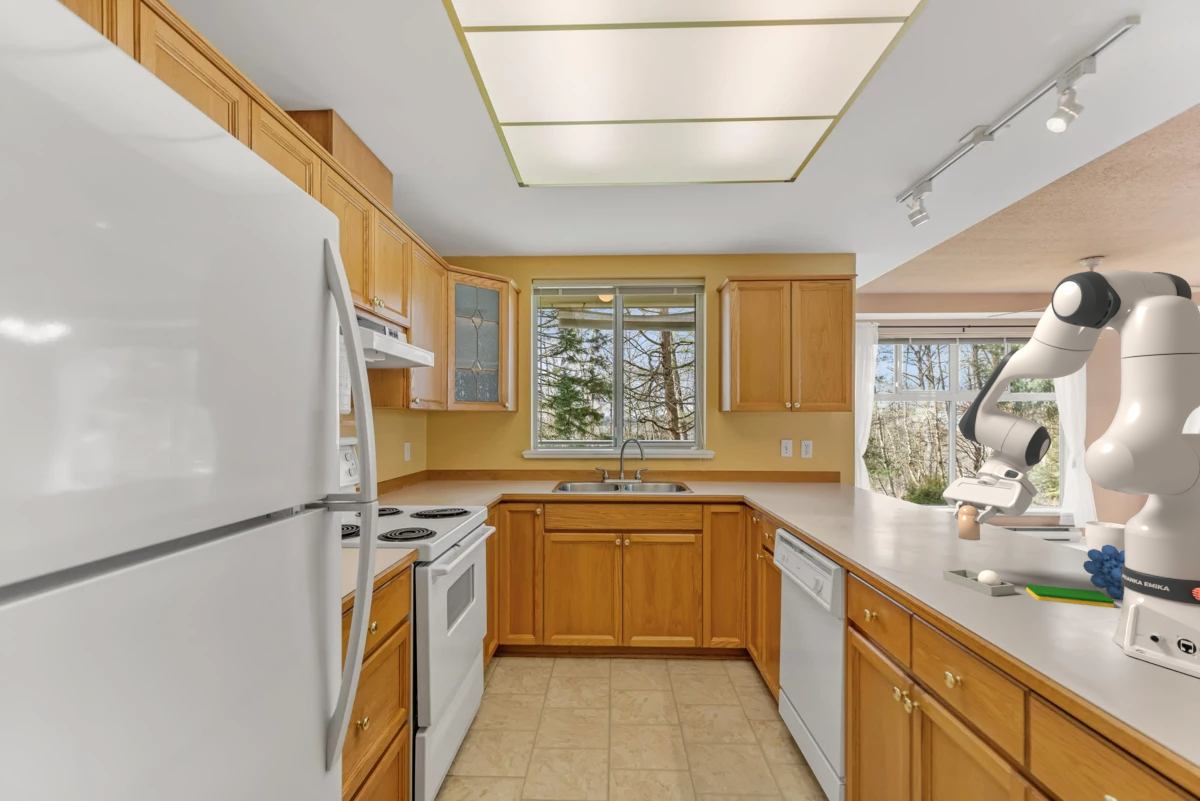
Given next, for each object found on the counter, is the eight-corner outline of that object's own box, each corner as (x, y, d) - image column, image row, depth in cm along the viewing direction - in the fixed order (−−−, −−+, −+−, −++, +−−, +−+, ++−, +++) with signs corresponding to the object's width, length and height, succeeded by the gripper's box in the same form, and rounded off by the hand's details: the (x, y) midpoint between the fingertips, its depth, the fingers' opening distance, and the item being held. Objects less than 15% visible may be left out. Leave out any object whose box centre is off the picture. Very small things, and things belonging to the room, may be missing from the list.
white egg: (1006, 592, 129) (1006, 572, 129) (990, 594, 128) (990, 574, 128) (988, 586, 134) (988, 567, 134) (972, 587, 133) (972, 568, 133)
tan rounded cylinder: (984, 539, 136) (983, 506, 136) (969, 540, 135) (969, 507, 135) (968, 536, 140) (968, 503, 140) (954, 537, 139) (953, 504, 139)
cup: (1088, 562, 156) (1088, 519, 156) (1133, 570, 149) (1132, 525, 149) (1081, 568, 150) (1081, 524, 150) (1127, 576, 143) (1127, 529, 143)
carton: (1014, 595, 128) (1014, 584, 128) (991, 598, 127) (991, 587, 127) (965, 578, 141) (965, 568, 141) (943, 580, 139) (943, 570, 139)
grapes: (1087, 598, 126) (1086, 546, 127) (1081, 590, 132) (1081, 540, 132) (1157, 608, 120) (1157, 553, 120) (1148, 599, 126) (1148, 546, 126)
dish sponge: (1115, 612, 119) (1114, 601, 119) (1036, 604, 124) (1036, 593, 124) (1099, 601, 126) (1099, 590, 126) (1025, 594, 131) (1025, 583, 131)
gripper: (955, 467, 150) (925, 504, 147) (1029, 474, 130) (997, 518, 127) (968, 483, 151) (939, 521, 148) (1045, 493, 131) (1013, 537, 128)
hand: (966, 520), depth 138 cm, fingers closed on tan rounded cylinder, 4 cm apart
